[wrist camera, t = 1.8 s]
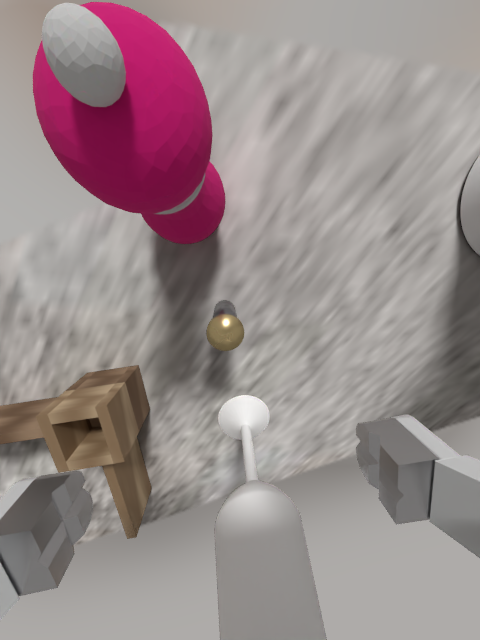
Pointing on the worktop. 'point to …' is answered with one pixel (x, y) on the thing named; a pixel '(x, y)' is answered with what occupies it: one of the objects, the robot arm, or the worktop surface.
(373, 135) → the worktop surface
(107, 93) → the pepper mill
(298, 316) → the worktop surface
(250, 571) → the champagne flute
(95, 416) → the hinge
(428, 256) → the worktop surface
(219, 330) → the hinge pin
